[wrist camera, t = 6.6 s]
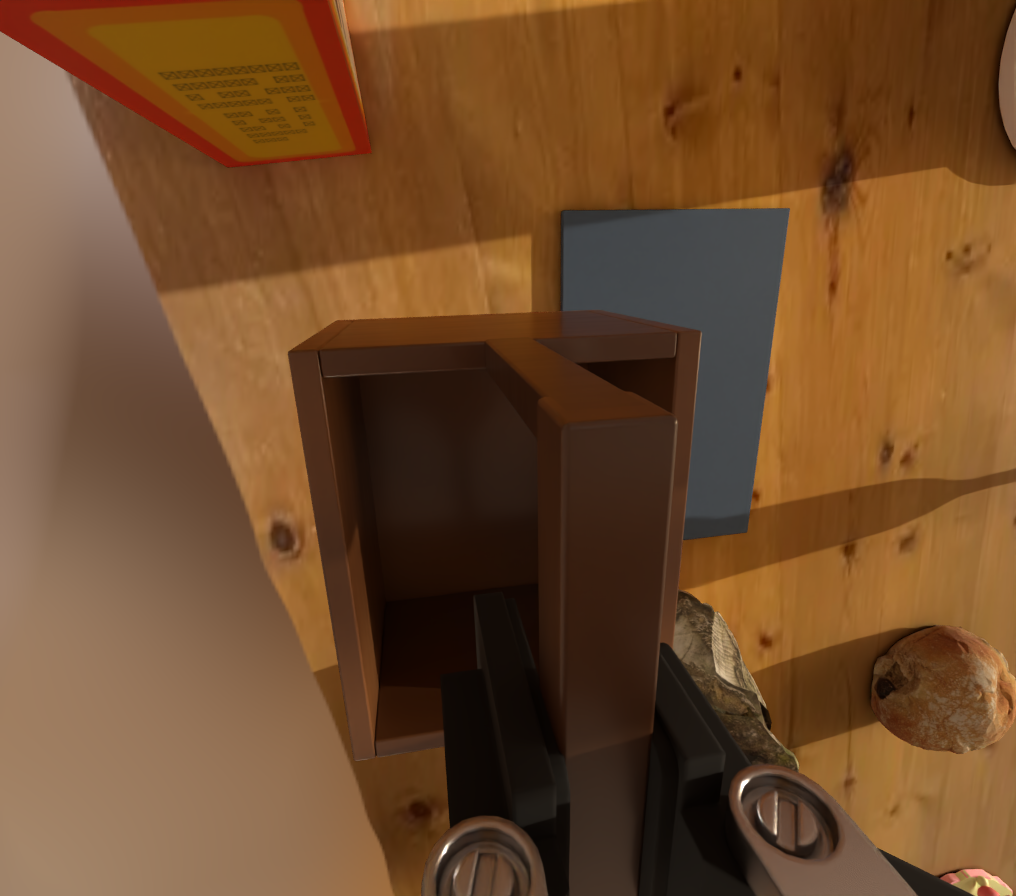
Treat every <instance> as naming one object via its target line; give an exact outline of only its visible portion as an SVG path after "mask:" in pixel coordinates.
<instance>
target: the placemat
mask: <svg viewBox="0 0 1016 896" xmlns="http://www.w3.org/2000/svg"><path fill="white" fill-rule="evenodd" d="M789 211H790V209H789V208H777V209H669V210H564V211H561V311H578V310H603V311H608V312H613V313H618V314H623V315H627V316H632V317H637V318H642V319H647V320H652V321H656V322H661V323H666V324H671V325H676V326H681V327H685V328H690V329H695V330H699V331H701V332H702V337H701V348H700V359H699V370H698V381H697V392H696V403H695V413H694V424H693V435H692V446H691V457H690V468H689V479H688V490H687V501H686V511H685V522H684V533H683V540H688V539H696V538H705V537H713V536H721V535H730V534H738V533H746V532H747V530H748V522H749V514H750V507H751V499H752V492H753V484H754V476H755V469H756V461H757V454H758V446H759V439H760V431H761V423H762V416H763V408H764V401H765V393H766V386H767V378H768V370H769V363H770V355H771V348H772V340H773V333H774V325H775V317H776V310H777V302H778V295H779V287H780V280H781V272H782V264H783V257H784V249H785V242H786V234H787V226H788V219H789Z"/></svg>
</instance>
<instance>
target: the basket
mask: <svg viewBox="0 0 1016 896" xmlns="http://www.w3.org/2000/svg"><path fill="white" fill-rule="evenodd" d="M701 337H702V332H701V331H699V330H695V329H690V328H685V327H681V326H676V325H671V324H666V323H661V322H656V321H652V320H647V319H642V318H637V317H632V316H627V315H623V314H618V313H613V312H608V311H603V310H578V311H554V312H530V313H505V314H481V315H457V316H433V317H409V318H384V319H360V320H337V321H335V322H334V323H332V324H330V325H329V326H327V327H326V328H324V329H323V330H321V331H320V332H318V333H316V334H315V335H313V336H312V337H310V338H309V339H307V340H306V341H304V342H302V343H301V344H299V345H298V346H296V347H295V348H293V349H292V350H290V351H289V352H288V357H289V364H290V370H291V376H292V382H293V388H294V394H295V401H296V407H297V413H298V419H299V425H300V431H301V438H302V444H303V450H304V456H305V462H306V468H307V475H308V481H309V487H310V493H311V499H312V505H313V512H314V518H315V524H316V530H317V536H318V542H319V549H320V555H321V561H322V567H323V573H324V579H325V586H326V592H327V598H328V604H329V610H330V616H331V623H332V629H333V635H334V641H335V647H336V653H337V659H338V666H339V672H340V678H341V684H342V690H343V696H344V703H345V709H346V715H347V721H348V727H349V733H350V740H351V746H352V752H353V758H354V761H360V760H366V759H372V758H375V757H376V755H377V757H384V756H390V755H396V754H402V753H409V752H415V751H421V750H427V749H433V748H439V747H445V745H444V730H443V714H442V699H441V684H440V674H447V673H454V672H461V671H468V670H475V669H477V653H476V635H475V617H474V595H478V594H487V593H495V592H503V595H504V598H505V599H510V598H514V599H515V601H516V604H517V608H518V611H519V614H520V617H521V621H522V624H523V627H524V630H525V633H526V637H527V640H528V643H529V646H530V650H531V653H532V656H533V659H534V663H535V666H536V669H537V672H538V675H539V687H540V691H541V694H542V697H543V700H544V704H545V707H546V710H547V714H548V717H549V720H550V724H551V727H552V730H553V733H554V737H555V740H556V743H557V747H558V750H559V751H560V752H561V753H562V754H563V756H564V760H565V763H566V768H567V772H568V778H569V785H570V852H569V888H570V891H569V896H639V886H640V874H641V862H642V850H643V838H644V826H645V814H646V801H647V789H648V777H649V765H650V753H651V741H652V737H653V724H654V712H655V700H656V688H657V676H658V663H659V651H660V643H663V642H664V643H666V644H668V645H669V646H670V647H671V648H672V649H673V642H674V631H675V620H676V609H677V599H678V588H679V577H680V566H681V555H682V544H683V533H684V522H685V511H686V501H687V490H688V479H689V468H690V457H691V446H692V435H693V424H694V413H695V403H696V392H697V381H698V370H699V359H700V348H701Z"/></svg>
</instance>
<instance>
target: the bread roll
mask: <svg viewBox="0 0 1016 896" xmlns="http://www.w3.org/2000/svg"><path fill="white" fill-rule="evenodd" d="M873 674H874V676H873V681H872V697H871V707H872V710H873V712H874V714H875V715H876V717H877V718H878V719H879V721H880V722H881V723H882V724H883V725H884V726H885V727H886V728H887V729H888V730H889V731H890V732H891V733H893V734H894V735H895V736H897V737H898V738H900V739H902V740H904V741H906V742H908V743H909V744H911V745H914V746H917V747H921V748H923V749H926V750H934V751H951V752H953V753H956V754H964V753H966V752H968V751H973V750H977V749H981V748H984V747H986V746H988V745H990V744H992V743H994V742H996V741H998V740H999V739H1000V738H1001V737H1002V736H1003V735H1004V734H1005V733H1006V731H1007V730H1008V729H1009V728H1010V726H1011V725H1012V723H1013V721H1014V719H1015V716H1016V679H1015V677H1014V676H1013V675H1011V673H1010V672H1009V670H1008V663H1007V661H1006V660H1005V658H1004V656H1003V654H1002V653H1001V652H999V651H998V650H997V649H995V648H993V647H991V646H990V645H989V643H988V642H987V641H986V640H985V639H983V638H980V637H978V636H975V635H974V634H972V633H971V632H969V631H966V630H964V629H962V628H961V627H952V626H941V625H934V626H933V627H932V628H927V629H922V630H921V631H918V632H916V633H913V634H911V635H909V636H907V637H905V638H903V639H901V640H899V641H898V642H897V643H896V644H895V645H893V646H892V647H891V648H890V649H889V651H888V652H887V654H886V655H884V656H883V657H879V658H878V659H877V662H876V664H875V665H874V672H873Z"/></svg>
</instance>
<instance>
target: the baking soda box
mask: <svg viewBox="0 0 1016 896" xmlns="http://www.w3.org/2000/svg"><path fill="white" fill-rule="evenodd" d="M0 31H1V32H2V33H4V34H6V35H7V36H9V37H11V38H12V39H14V40H16V41H17V42H19V43H21V44H22V45H24V46H26V47H27V48H29V49H31V50H33V51H34V52H36V53H37V54H39V55H41V56H43V57H44V58H46V59H47V60H49V61H51V62H53V63H54V64H56V65H58V66H59V67H61V68H62V69H64V70H66V71H67V72H69V73H71V74H72V75H74V76H76V77H77V78H79V79H81V80H82V81H84V82H86V83H88V84H89V85H91V86H93V87H94V88H96V89H98V90H99V91H101V92H103V93H104V94H106V95H108V96H109V97H111V98H113V99H114V100H116V101H118V102H119V103H121V104H123V105H124V106H126V107H128V108H129V109H131V110H133V111H134V112H136V113H138V114H139V115H141V116H143V117H144V118H146V119H148V120H149V121H151V122H153V123H154V124H156V125H158V126H159V127H161V128H163V129H164V130H166V131H168V132H169V133H171V134H173V135H174V136H176V137H178V138H179V139H181V140H183V141H184V142H186V143H188V144H189V145H191V146H193V147H194V148H196V149H198V150H199V151H201V152H203V153H204V154H206V155H208V156H209V157H211V158H213V159H214V160H216V161H218V162H220V163H221V164H223V165H225V166H226V167H228V168H229V167H239V166H249V165H259V164H269V163H279V162H289V161H298V160H308V159H318V158H328V157H338V156H348V155H358V154H367V153H372V151H371V146H370V140H369V135H368V130H367V124H366V119H365V114H364V108H363V103H362V98H361V92H360V87H359V82H358V76H357V71H356V66H355V60H354V55H353V50H352V44H351V39H350V34H349V28H348V23H347V18H346V12H345V7H344V2H343V0H0Z"/></svg>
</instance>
